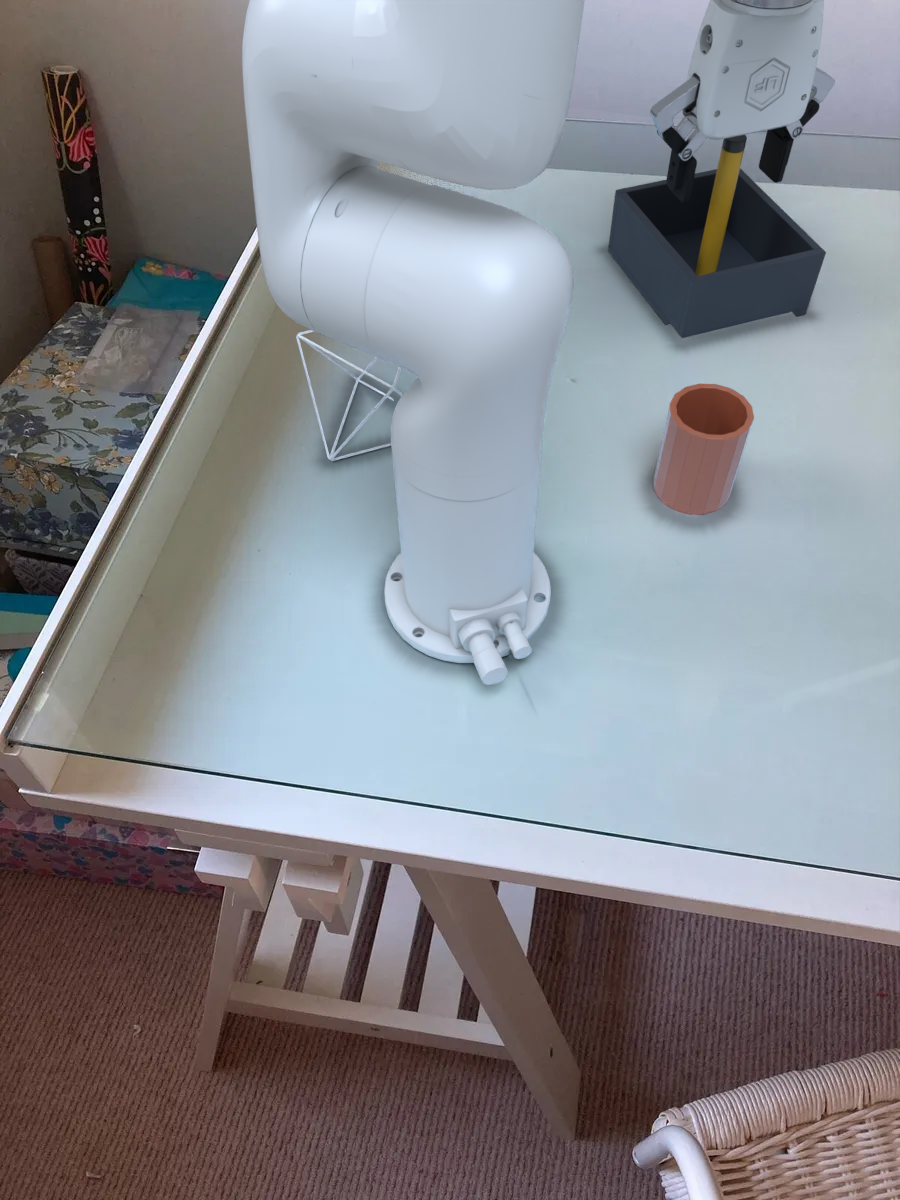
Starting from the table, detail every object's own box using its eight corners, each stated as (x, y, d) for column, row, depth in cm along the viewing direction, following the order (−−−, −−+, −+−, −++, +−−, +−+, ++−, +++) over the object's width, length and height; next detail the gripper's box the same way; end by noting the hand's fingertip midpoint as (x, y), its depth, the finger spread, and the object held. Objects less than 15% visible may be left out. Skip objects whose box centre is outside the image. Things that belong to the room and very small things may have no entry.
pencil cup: (741, 509, 78) (769, 427, 71) (673, 529, 77) (694, 447, 70) (705, 459, 82) (728, 376, 75) (639, 477, 81) (656, 394, 74)
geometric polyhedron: (375, 491, 80) (366, 407, 73) (284, 433, 85) (268, 349, 77) (469, 413, 86) (470, 329, 79) (380, 363, 90) (373, 279, 83)
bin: (805, 314, 94) (826, 252, 88) (680, 344, 91) (693, 282, 86) (723, 225, 103) (737, 164, 98) (607, 250, 101) (615, 189, 95)
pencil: (718, 277, 96) (751, 139, 85) (700, 281, 96) (731, 143, 85) (709, 266, 97) (740, 129, 86) (691, 270, 97) (720, 133, 86)
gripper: (693, 12, 72) (657, 224, 85) (893, -22, 75) (827, 187, 88) (649, -25, 76) (621, 182, 90) (839, -56, 79) (785, 149, 93)
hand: (724, 184), depth 89 cm, fingers open, 9 cm apart
